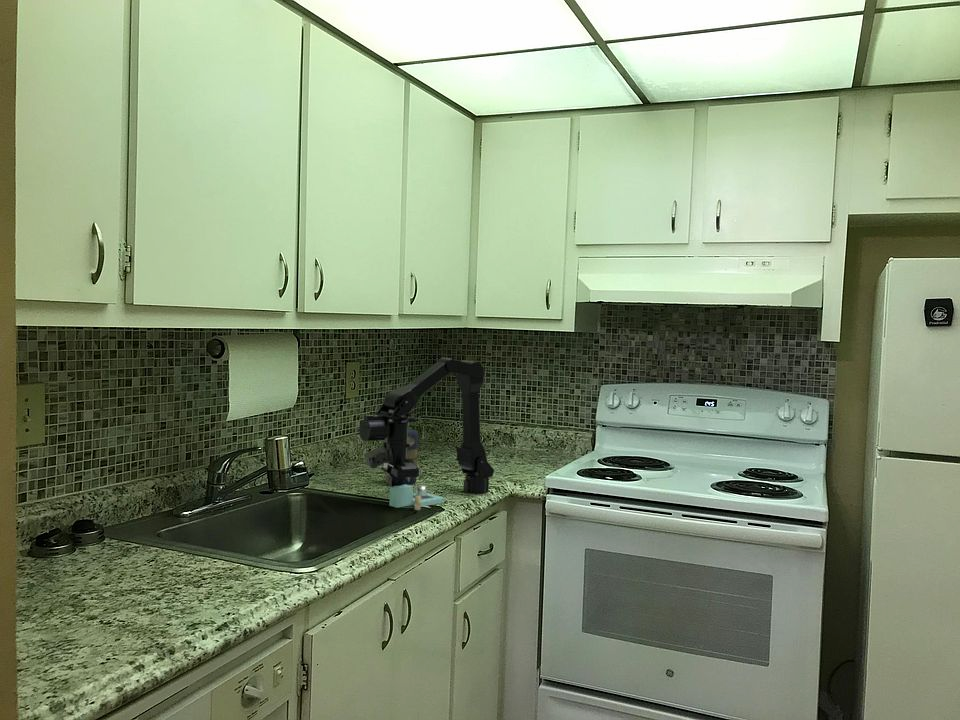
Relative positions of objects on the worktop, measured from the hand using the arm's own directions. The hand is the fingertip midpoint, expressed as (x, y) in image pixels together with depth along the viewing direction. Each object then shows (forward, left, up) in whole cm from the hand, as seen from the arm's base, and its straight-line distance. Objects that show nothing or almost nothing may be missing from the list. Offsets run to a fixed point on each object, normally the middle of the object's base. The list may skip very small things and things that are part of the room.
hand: (393, 495), depth 208 cm
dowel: (-4, +9, -2) cm, 10 cm away
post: (-8, +1, -2) cm, 8 cm away
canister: (-12, -25, -3) cm, 28 cm away
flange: (-5, +2, -2) cm, 6 cm away
